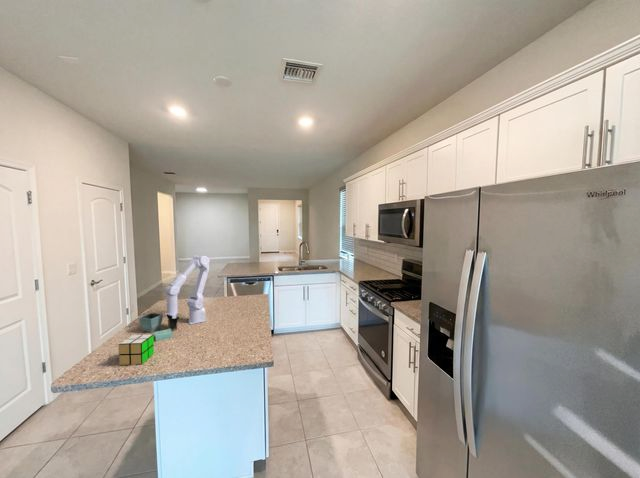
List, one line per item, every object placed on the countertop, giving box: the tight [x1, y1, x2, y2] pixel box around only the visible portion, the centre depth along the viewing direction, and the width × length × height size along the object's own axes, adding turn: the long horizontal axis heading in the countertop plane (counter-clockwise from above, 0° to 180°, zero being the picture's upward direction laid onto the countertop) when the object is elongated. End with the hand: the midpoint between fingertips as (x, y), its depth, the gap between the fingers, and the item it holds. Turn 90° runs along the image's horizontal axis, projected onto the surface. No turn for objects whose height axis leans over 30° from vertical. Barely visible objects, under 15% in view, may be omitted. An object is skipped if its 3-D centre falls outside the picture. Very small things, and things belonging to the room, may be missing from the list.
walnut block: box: [167, 319, 178, 332], centre depth 156 cm, size 4×4×6 cm
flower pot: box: [138, 312, 164, 333], centre depth 154 cm, size 9×9×9 cm
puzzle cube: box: [118, 334, 155, 366], centre depth 120 cm, size 10×10×10 cm
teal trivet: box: [153, 328, 174, 342], centre depth 145 cm, size 8×8×3 cm
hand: (172, 326), depth 157 cm, fingers open, 6 cm apart
